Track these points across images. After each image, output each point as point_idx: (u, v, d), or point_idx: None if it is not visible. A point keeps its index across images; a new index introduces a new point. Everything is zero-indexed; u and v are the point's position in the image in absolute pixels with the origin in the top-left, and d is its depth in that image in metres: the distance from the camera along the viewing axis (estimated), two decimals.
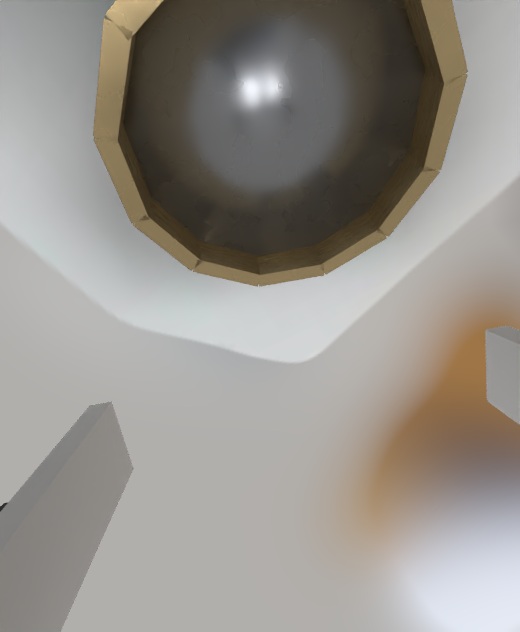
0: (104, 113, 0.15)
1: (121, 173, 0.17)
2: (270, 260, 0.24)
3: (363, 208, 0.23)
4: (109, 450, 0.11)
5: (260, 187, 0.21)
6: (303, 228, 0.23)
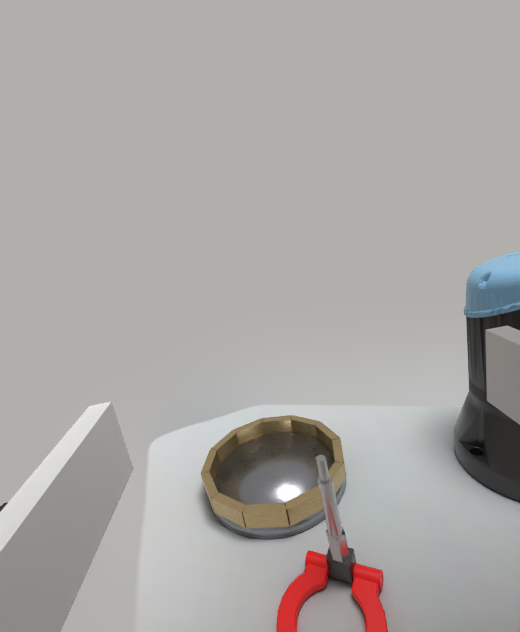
0: (323, 426, 0.47)
1: (307, 421, 0.49)
2: (234, 444, 0.49)
3: (216, 484, 0.43)
4: (109, 450, 0.11)
5: (263, 457, 0.46)
6: (232, 462, 0.47)
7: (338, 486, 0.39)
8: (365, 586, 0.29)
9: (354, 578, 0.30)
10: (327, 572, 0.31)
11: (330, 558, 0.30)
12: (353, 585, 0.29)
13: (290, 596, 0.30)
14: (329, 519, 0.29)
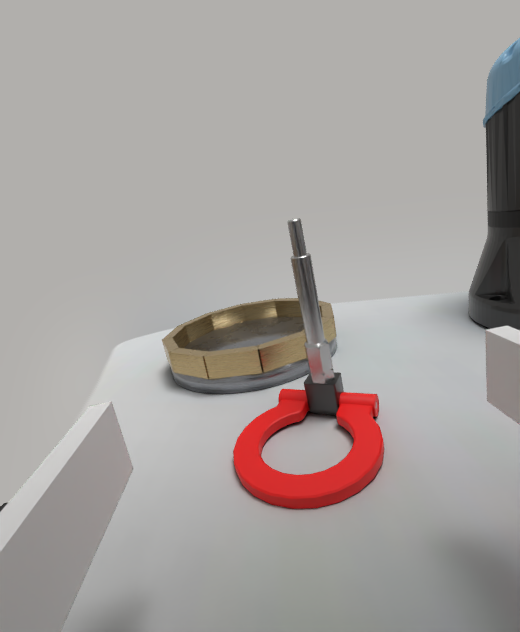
0: None
1: (293, 299, 0.42)
2: (208, 326, 0.42)
3: None
4: (109, 450, 0.11)
5: (240, 334, 0.39)
6: (203, 340, 0.39)
7: None
8: (354, 409, 0.22)
9: (340, 405, 0.23)
10: (306, 404, 0.24)
11: (309, 382, 0.23)
12: (339, 410, 0.22)
13: (255, 425, 0.22)
14: (307, 315, 0.21)
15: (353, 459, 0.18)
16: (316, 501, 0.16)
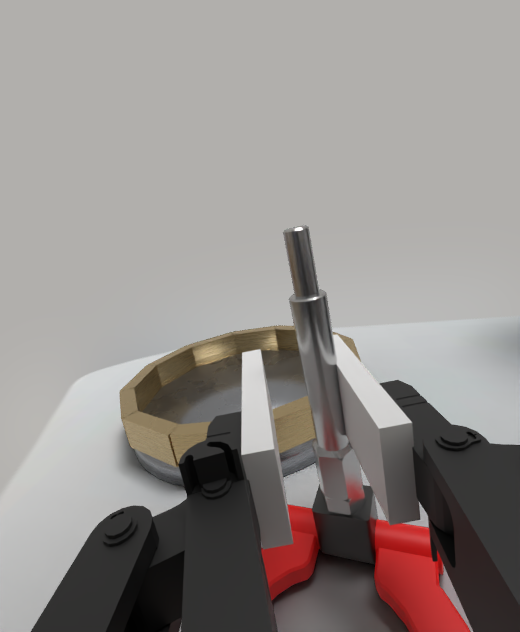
0: None
1: None
2: (188, 363, 0.32)
3: (146, 411, 0.26)
4: (267, 387, 0.13)
5: (230, 377, 0.29)
6: (181, 385, 0.29)
7: None
8: (407, 567, 0.12)
9: (378, 551, 0.13)
10: (315, 542, 0.14)
11: (322, 508, 0.13)
12: (378, 566, 0.12)
13: None
14: (319, 403, 0.12)
15: None
16: None
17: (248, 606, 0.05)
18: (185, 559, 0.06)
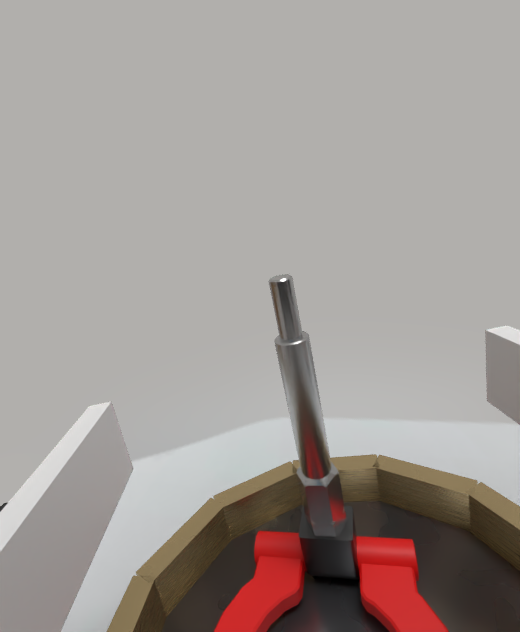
0: (501, 502, 0.14)
1: (433, 477, 0.16)
2: (216, 542, 0.17)
3: None
4: (109, 450, 0.11)
5: (310, 609, 0.14)
6: (205, 621, 0.14)
7: None
8: (388, 579, 0.13)
9: (361, 567, 0.14)
10: (302, 566, 0.15)
11: (308, 533, 0.14)
12: (363, 582, 0.13)
13: None
14: (305, 436, 0.13)
15: None
16: None
17: None
18: None
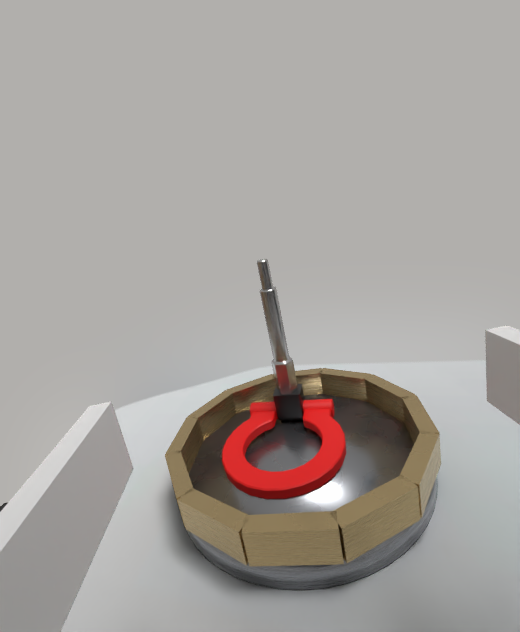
0: (379, 380, 0.28)
1: (349, 374, 0.30)
2: (228, 411, 0.30)
3: (193, 475, 0.24)
4: (109, 450, 0.11)
5: (278, 431, 0.27)
6: (224, 439, 0.27)
7: (433, 479, 0.19)
8: (317, 412, 0.26)
9: (304, 410, 0.27)
10: (275, 413, 0.28)
11: (277, 394, 0.27)
12: (304, 415, 0.27)
13: (235, 437, 0.26)
14: (275, 338, 0.26)
15: (325, 452, 0.22)
16: (303, 488, 0.20)
17: None
18: None
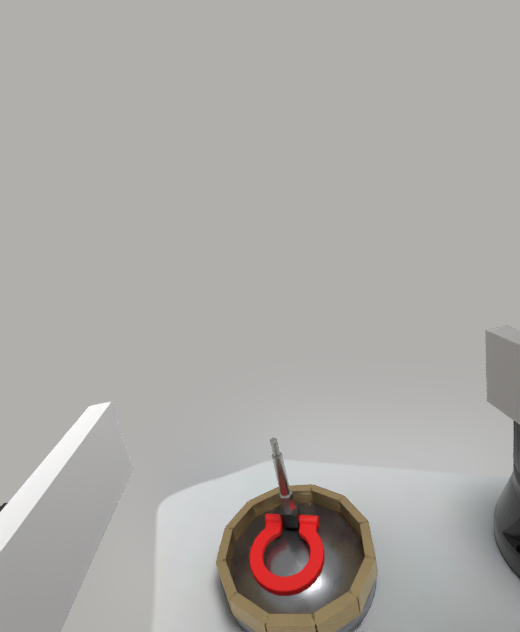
0: (347, 503, 0.43)
1: (329, 494, 0.45)
2: (250, 517, 0.46)
3: (232, 573, 0.40)
4: (109, 450, 0.11)
5: (283, 537, 0.43)
6: (249, 542, 0.43)
7: (370, 587, 0.35)
8: (308, 527, 0.42)
9: (300, 524, 0.43)
10: (281, 524, 0.43)
11: (283, 513, 0.43)
12: (300, 528, 0.42)
13: (257, 544, 0.41)
14: (281, 483, 0.41)
15: (311, 563, 0.38)
16: (298, 590, 0.36)
17: None
18: None
